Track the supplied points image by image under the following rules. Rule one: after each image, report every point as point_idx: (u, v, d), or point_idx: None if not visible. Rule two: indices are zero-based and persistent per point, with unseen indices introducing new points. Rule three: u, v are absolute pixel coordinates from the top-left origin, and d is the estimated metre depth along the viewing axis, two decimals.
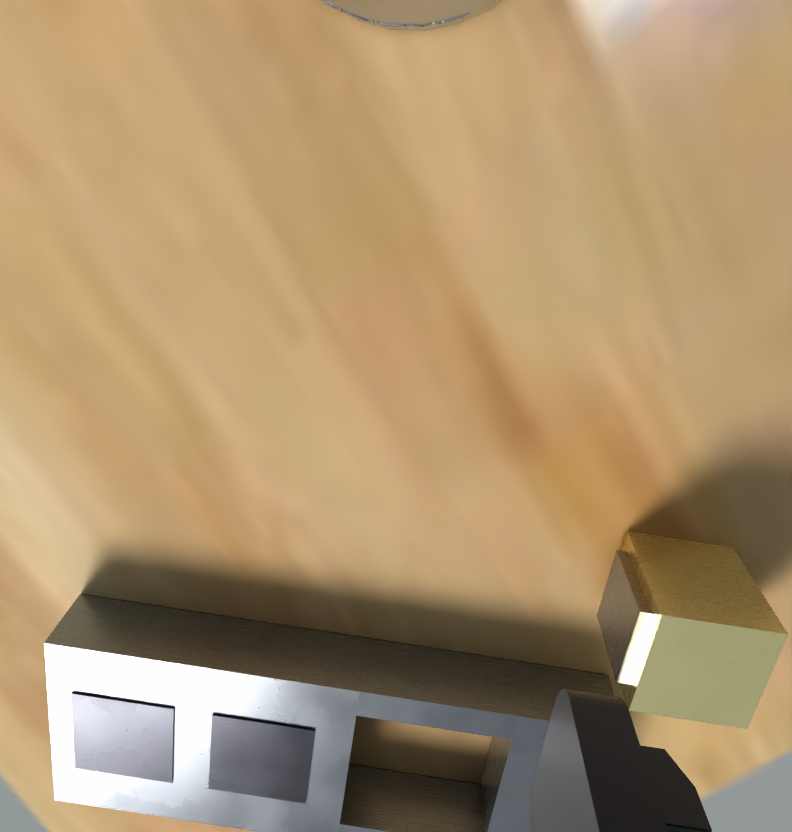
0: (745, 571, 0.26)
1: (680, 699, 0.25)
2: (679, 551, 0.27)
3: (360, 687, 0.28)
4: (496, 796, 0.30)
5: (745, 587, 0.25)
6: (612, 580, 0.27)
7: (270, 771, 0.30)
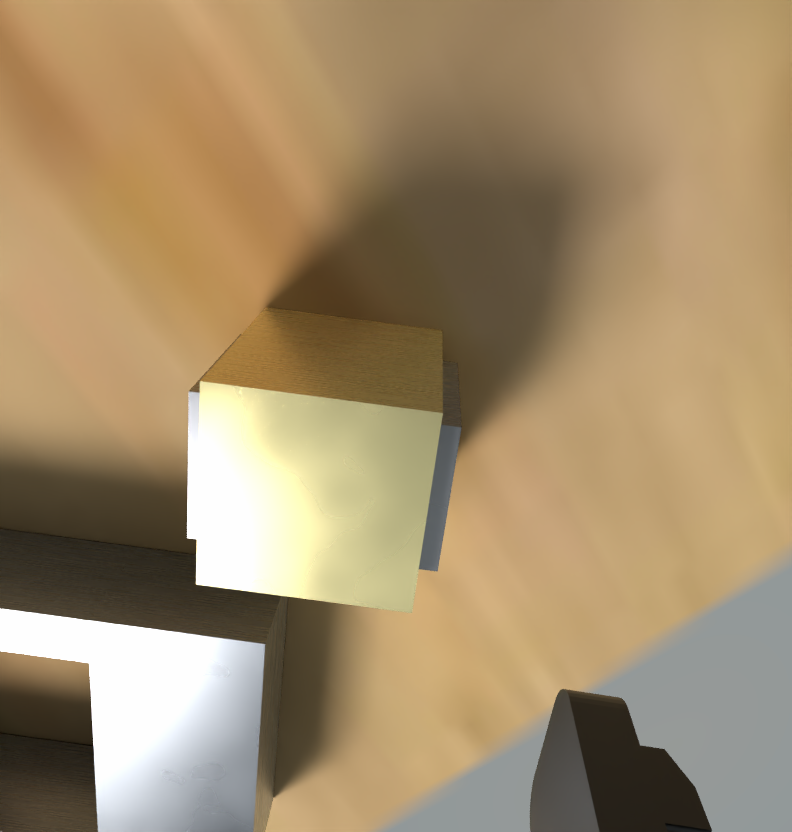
0: (437, 350, 0.15)
1: (280, 558, 0.13)
2: (336, 328, 0.16)
3: None
4: (95, 762, 0.18)
5: (417, 364, 0.14)
6: None
7: None
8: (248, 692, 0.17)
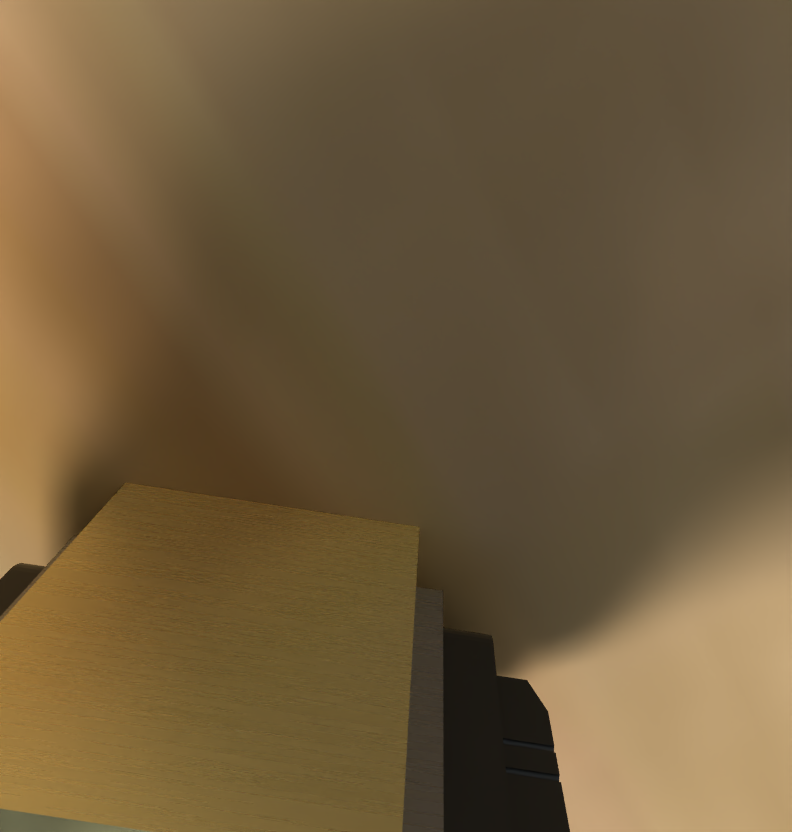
0: (406, 595, 0.08)
1: None
2: (233, 536, 0.09)
3: None
4: None
5: (363, 649, 0.07)
6: None
7: None
8: None
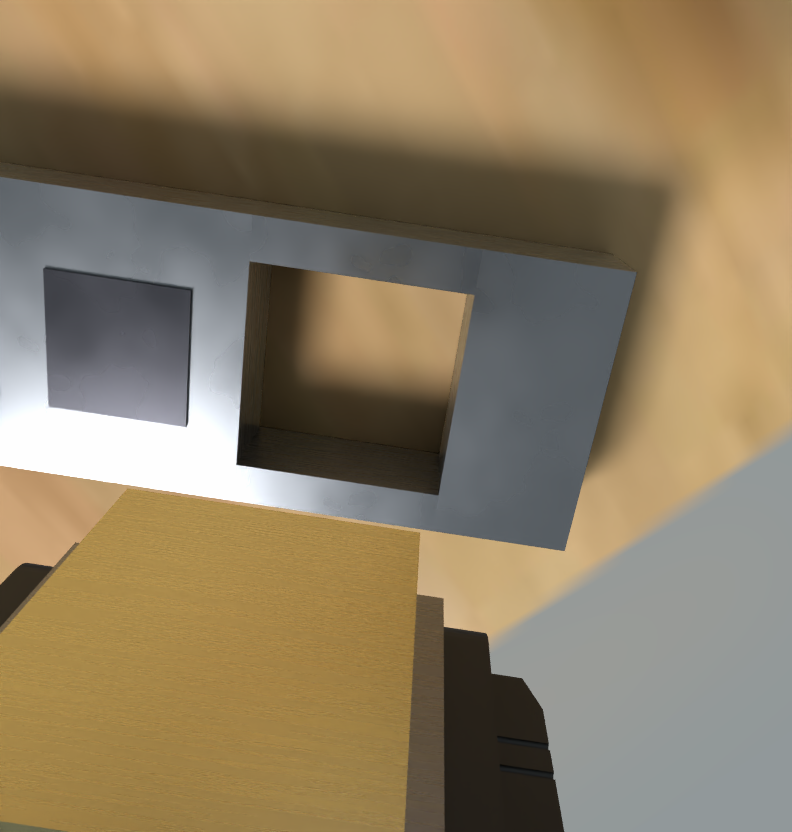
0: (407, 603, 0.08)
1: None
2: (234, 544, 0.09)
3: (254, 214, 0.19)
4: (454, 405, 0.21)
5: (365, 659, 0.08)
6: None
7: (132, 370, 0.21)
8: (611, 324, 0.20)
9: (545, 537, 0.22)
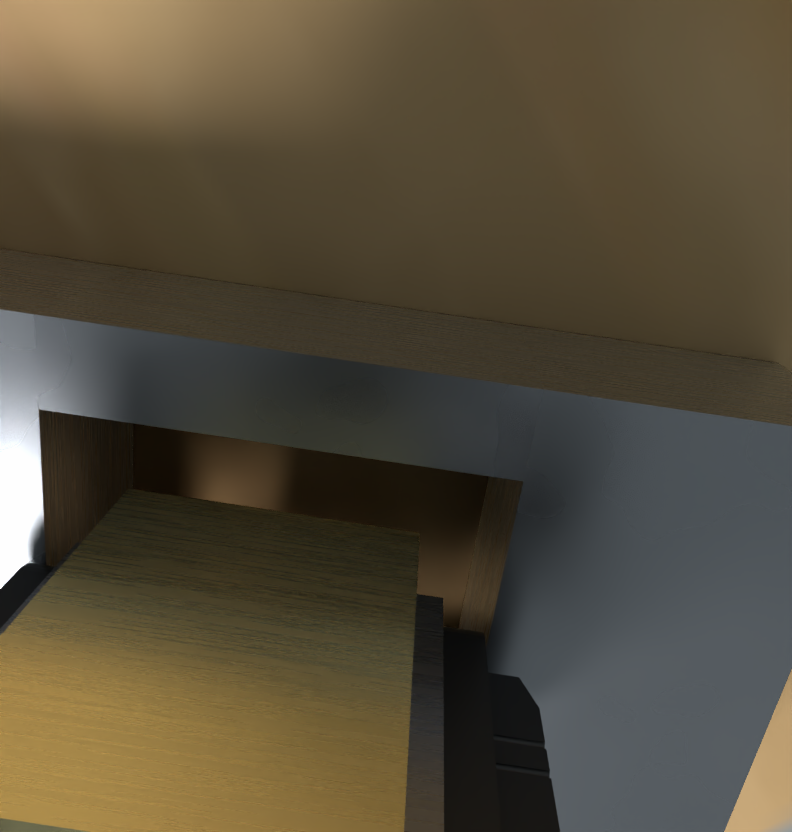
0: (406, 603, 0.09)
1: None
2: (235, 543, 0.09)
3: (43, 310, 0.09)
4: None
5: (364, 657, 0.08)
6: None
7: None
8: None
9: None
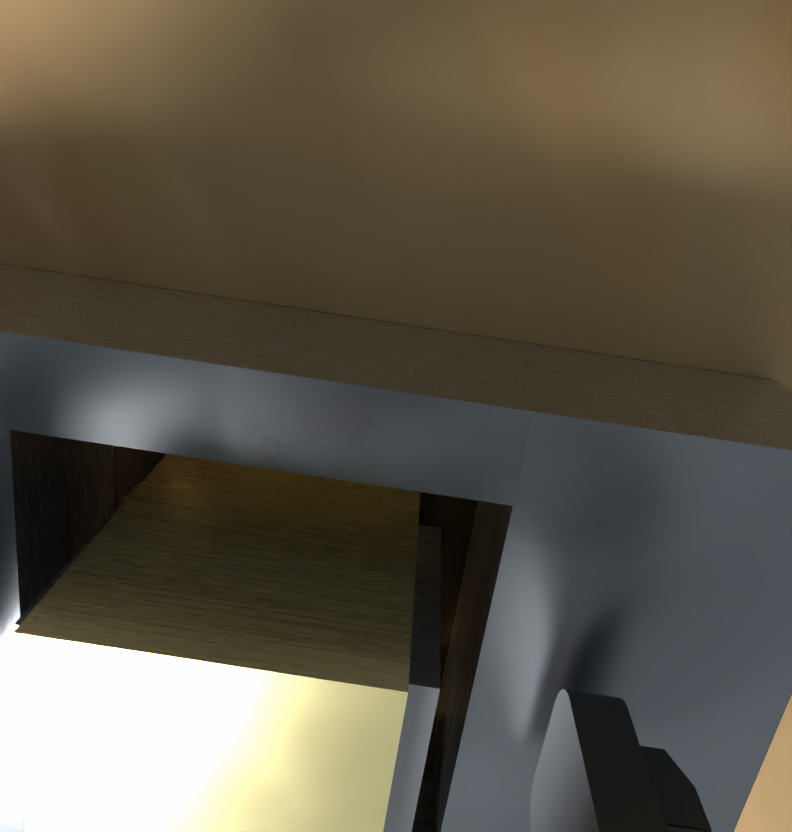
0: (411, 524, 0.11)
1: None
2: (270, 481, 0.11)
3: (14, 327, 0.09)
4: (467, 710, 0.10)
5: (378, 560, 0.10)
6: None
7: None
8: None
9: None
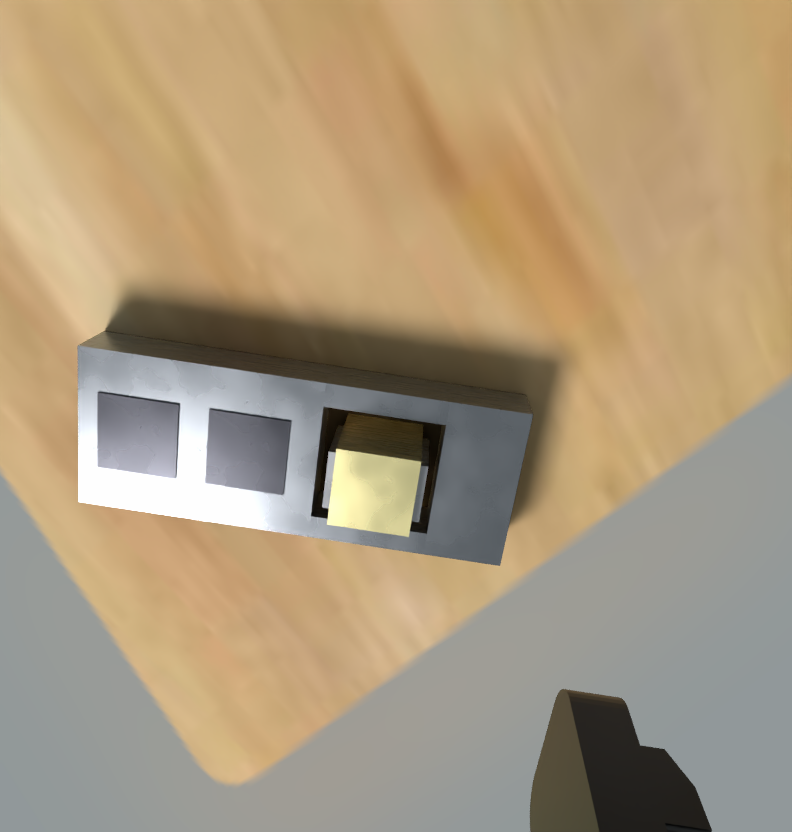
0: (420, 435, 0.38)
1: (359, 514, 0.36)
2: (379, 424, 0.38)
3: (326, 381, 0.36)
4: (435, 483, 0.37)
5: (412, 441, 0.37)
6: None
7: (255, 463, 0.37)
8: (520, 441, 0.36)
9: (488, 557, 0.38)
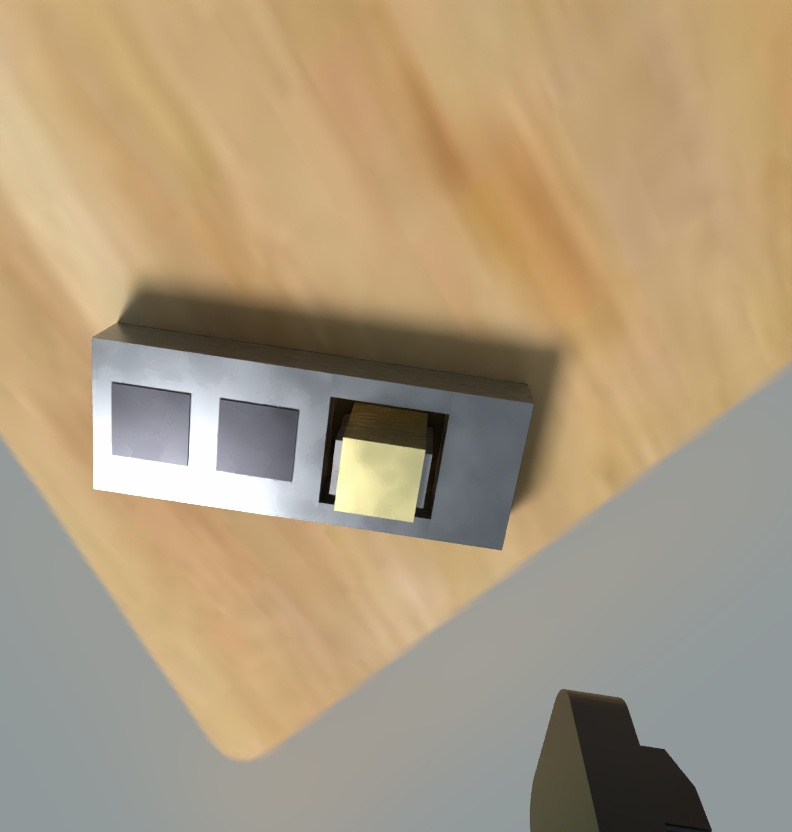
0: (424, 424, 0.39)
1: (366, 500, 0.37)
2: (384, 413, 0.39)
3: (333, 372, 0.37)
4: (439, 470, 0.38)
5: (416, 430, 0.38)
6: None
7: (264, 451, 0.38)
8: (522, 429, 0.37)
9: (490, 542, 0.39)
